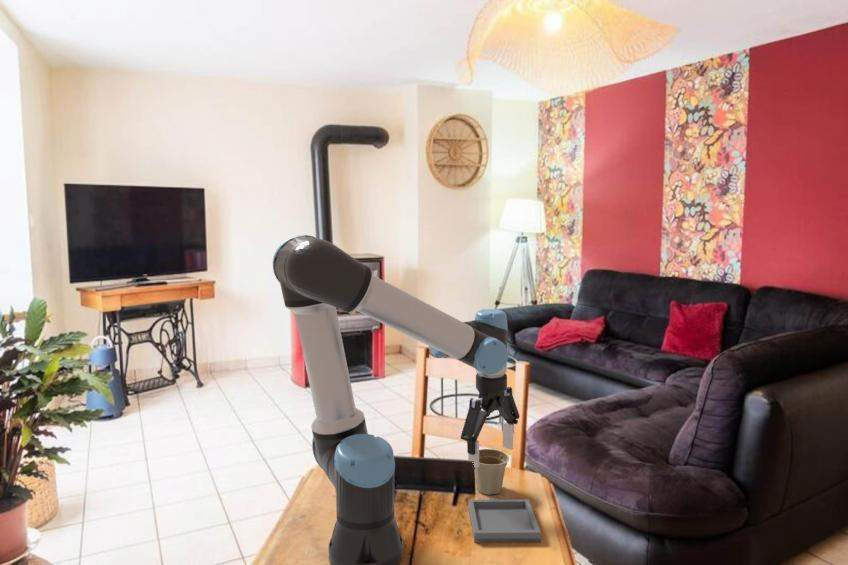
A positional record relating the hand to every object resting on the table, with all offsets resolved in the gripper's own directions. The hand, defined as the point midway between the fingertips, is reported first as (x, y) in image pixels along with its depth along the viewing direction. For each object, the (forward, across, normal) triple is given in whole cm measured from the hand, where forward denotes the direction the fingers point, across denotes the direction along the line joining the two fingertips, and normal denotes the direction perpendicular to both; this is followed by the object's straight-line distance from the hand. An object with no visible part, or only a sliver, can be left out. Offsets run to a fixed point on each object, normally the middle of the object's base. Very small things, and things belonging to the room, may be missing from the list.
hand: (491, 456), depth 150 cm
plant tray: (+8, -11, -12) cm, 18 cm away
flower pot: (+9, -1, 0) cm, 9 cm away
